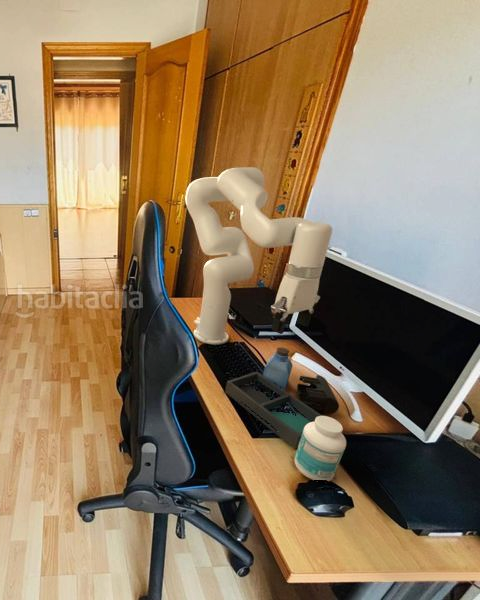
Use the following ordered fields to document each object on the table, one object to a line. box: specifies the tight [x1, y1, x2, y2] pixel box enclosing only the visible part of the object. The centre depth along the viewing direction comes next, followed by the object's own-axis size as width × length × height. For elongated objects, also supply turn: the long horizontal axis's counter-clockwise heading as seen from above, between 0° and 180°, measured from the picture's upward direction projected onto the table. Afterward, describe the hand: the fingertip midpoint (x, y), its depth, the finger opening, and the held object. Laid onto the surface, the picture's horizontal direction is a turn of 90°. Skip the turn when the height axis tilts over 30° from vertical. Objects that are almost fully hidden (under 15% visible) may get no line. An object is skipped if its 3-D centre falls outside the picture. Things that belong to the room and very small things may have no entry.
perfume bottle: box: [262, 346, 294, 391], centre depth 98 cm, size 6×6×12 cm
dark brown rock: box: [295, 374, 340, 416], centre depth 90 cm, size 10×7×7 cm
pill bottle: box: [293, 415, 347, 482], centre depth 71 cm, size 8×7×14 cm
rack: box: [224, 371, 322, 450], centre depth 89 cm, size 22×12×4 cm, turn 21°
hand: (289, 328), depth 92 cm, fingers open, 9 cm apart
